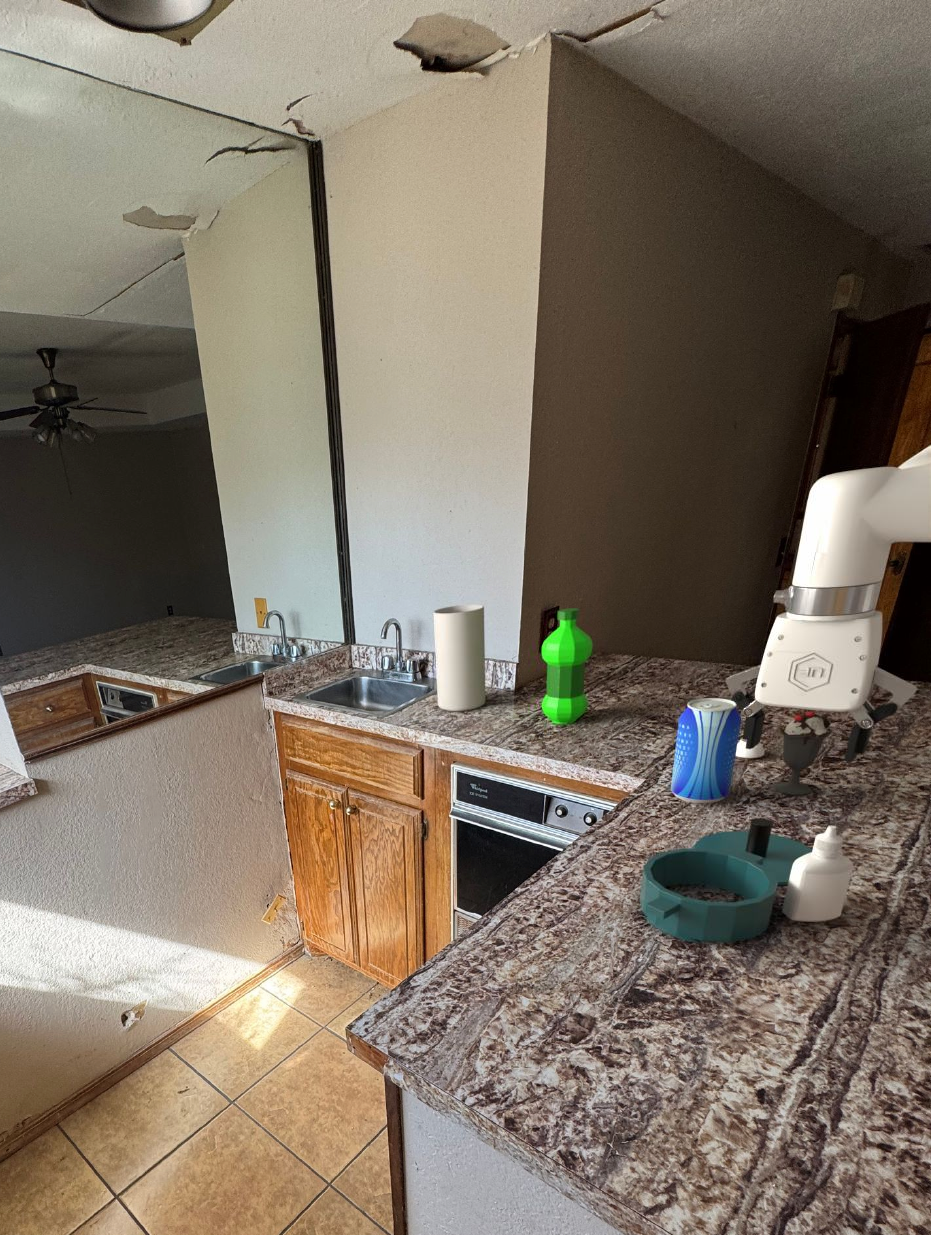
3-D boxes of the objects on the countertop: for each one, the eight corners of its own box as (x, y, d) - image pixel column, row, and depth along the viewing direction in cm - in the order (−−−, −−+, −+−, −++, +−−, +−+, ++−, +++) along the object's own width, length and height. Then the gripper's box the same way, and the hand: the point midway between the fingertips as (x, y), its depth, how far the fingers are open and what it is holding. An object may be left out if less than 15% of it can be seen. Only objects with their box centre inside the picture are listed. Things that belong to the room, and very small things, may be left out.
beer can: (669, 786, 113) (680, 696, 106) (726, 788, 109) (741, 696, 102) (670, 806, 107) (681, 711, 100) (730, 809, 103) (746, 711, 96)
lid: (844, 863, 86) (855, 821, 83) (780, 902, 80) (789, 859, 77) (732, 828, 98) (739, 791, 95) (669, 860, 92) (674, 821, 89)
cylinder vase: (450, 715, 168) (446, 615, 157) (430, 704, 179) (425, 611, 168) (494, 705, 170) (493, 606, 159) (472, 696, 181) (469, 603, 170)
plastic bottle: (558, 711, 158) (562, 605, 147) (597, 718, 150) (604, 606, 139) (531, 722, 154) (533, 613, 143) (569, 730, 146) (574, 615, 135)
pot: (806, 908, 78) (815, 869, 76) (707, 970, 71) (714, 929, 69) (697, 867, 89) (702, 832, 87) (602, 917, 82) (605, 880, 80)
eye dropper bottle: (842, 931, 74) (867, 838, 68) (781, 922, 77) (801, 832, 71) (838, 911, 77) (862, 821, 72) (780, 903, 80) (799, 815, 75)
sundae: (766, 794, 105) (784, 705, 99) (769, 779, 110) (786, 693, 104) (817, 799, 102) (839, 706, 95) (817, 783, 106) (838, 694, 100)
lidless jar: (737, 760, 119) (768, 759, 118) (740, 745, 117) (771, 743, 116) (727, 751, 123) (757, 749, 122) (729, 736, 122) (759, 734, 121)
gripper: (728, 607, 73) (706, 750, 81) (935, 606, 61) (887, 775, 68) (750, 596, 77) (728, 732, 85) (948, 592, 65) (902, 753, 73)
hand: (799, 751), depth 77 cm, fingers open, 9 cm apart
